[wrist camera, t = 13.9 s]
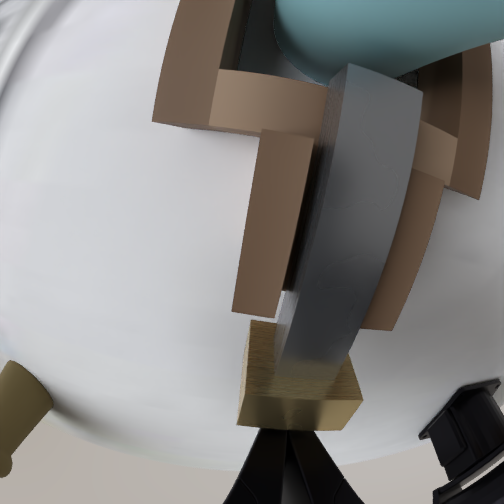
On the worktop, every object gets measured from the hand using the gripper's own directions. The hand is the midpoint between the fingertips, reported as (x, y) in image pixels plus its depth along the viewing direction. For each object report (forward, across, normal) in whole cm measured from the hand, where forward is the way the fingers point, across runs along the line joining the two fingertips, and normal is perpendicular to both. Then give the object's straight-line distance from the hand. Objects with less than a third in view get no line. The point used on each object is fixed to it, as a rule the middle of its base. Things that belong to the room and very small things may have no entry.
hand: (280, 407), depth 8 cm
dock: (+4, 0, -11) cm, 12 cm away
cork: (+4, +20, +13) cm, 24 cm away
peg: (+4, 0, -13) cm, 14 cm away
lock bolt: (+1, 0, -5) cm, 6 cm away
